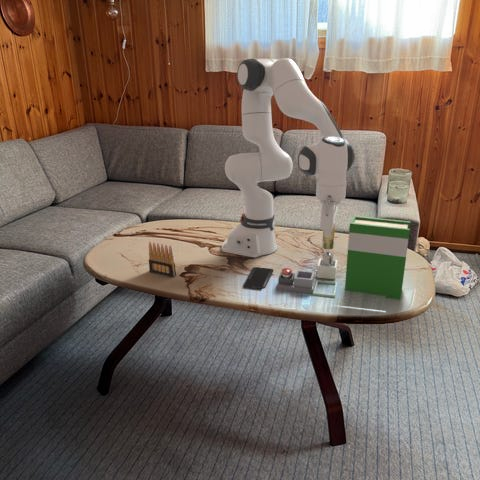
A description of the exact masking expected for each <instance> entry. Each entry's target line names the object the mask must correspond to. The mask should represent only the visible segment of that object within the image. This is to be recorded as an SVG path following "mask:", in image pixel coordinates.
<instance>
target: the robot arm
mask: <svg viewBox="0 0 480 480" xmlns="http://www.w3.org/2000/svg"><path fill="white" fill-rule="evenodd" d="M236 71H237V73H236V78H237V83H238V84H239V87H241V89H242V90H243V91H242V96H241V128H242V136H243V138H244V139H245V140H246V141H247V142H250V143H252V144H254V145H256V146H257V147H258V148H259V151H258V152H243V153H242V152H241V153H237V154H233V155H230V156H228V158H227V159H226V161H225V164H224V174H225V175H226V177H227V178H228V180H229V181H230V182H232V183H233V184H235V185H236V186H237V187H238V188H239V190H240V191H241V193H242V196H243V201H244V212H242V214H241V216H240V218H239V224H237V225H236V226H235V227H233V228H232V229H231V230H230V231H229V232H228V235H227V238H226V239H225V240H224V242H223V243H222V244H221V251H222V252H223V253H229V254H233V255H239V256H244V257H248V258H249V257H250V258H258V257H260V256H266V255H270V254H272V253H274V252H276V251H277V249H278V246H277V241H276V237H275V223H276V222H275V221H276V219H275V215H274V197H273V194H272V193H271V192H269V191H267V190H266V189H263V188H261V187H260V186H259V185H258V183H260V182H275V181H280V180H284V179H288V178H289V177H290V175H291V174H292V172H293V167H294V164H293V163H294V162H293V159H292V157H291V156H290V155H289V154H288V153H287V152H286V151H285V150H283V149H282V148H281V147H280V145H279V144H278V142H277V141H276V139H275V135H274V130H273V121H272V118H273V117H272V103H271V101H272V97H273V96H274V99H275V102H276V104H277V107H278V108H279V110H280V112H282V113H283V115H285V116H287V117H290V118H293V119H297V120H298V119H299V120H302V121H305V122H309V123H310V124H313V125H314V126H315V127H316V128H317V129H318V131H319V132H320V134H321V136H322V138H321V139H320V140H319V141H318V142H316V143H313V144H308V145H304V146H303V147H302V148H301V149H300V151H299V153H298V156H297V166H298V168H299V170H300V171H301V172H302V173H303V174H304V175H305V176H311V177H312V176H315V177H316V184H315V185H316V188H315V189H316V191H315V192H316V193H315V197H316V198H317V199H318V200H319V203H320V204H321V209H320V221H319V222H320V224H319V228H320V230H321V231H323V230H325V237H327V238H330V237H331V231H332V229H333V225H334V223H335V221H336V218H337V215H338V214H337V213H338V210H339V205H340V204H341V202H342V200H345V198H346V191H347V179H346V173H348V171H349V170H350V169H351V168H352V167H353V165H354V163H355V161H356V153H355V150H354V148H353V146H352V144H351V143H350V142H349V141H348V140H347V139H346V137H344V135H343V133H342V131H341V129H340V128H339V126H338V124H337V122H336V121H335V119H334V118H333V116H332V114H331V112H330V111H329V109H328V108H327V106H326V105H325V104H324V102H323V101H321V100H320V99H318V97H317V96H315V95H314V94H313V92H312V91H311V90H310V89H309V87H308V85H307V83H306V82H307V81H306V80H305V78H304V75H303V73H302V72H301V70H300V68H299V66H298V65H297V63H296V62H295V61H294V60H293V59H290V58H287V57H284V58H283V57H282V58H279V59H277V58H270V57H269V58H254V57H253V58H247V59H244V60H242V61H241V62H240V64H239V66H238V68H237V70H236Z"/></svg>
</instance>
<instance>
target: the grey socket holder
mask: <svg viewBox="0 0 480 480" xmlns="http://www.w3.org/2000/svg"><path fill="white" fill-rule="evenodd" d="M315 276H316V273H315V271H312V270H311V271H309V270H302V269H301V270H300V269H297V270H296V271H295V273H293V272H292V273H291V279H288V278H282V271H281V272H280V273H279V276H278V280H277V281H278V282H277V285H276V290H277V291H285V292H292V293H302V294H311V295H313V291H314V288H315V284H316V281H317V278H315Z"/></svg>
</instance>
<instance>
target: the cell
mask: <svg viewBox="0 0 480 480" xmlns="http://www.w3.org/2000/svg"><path fill="white" fill-rule="evenodd" d="M335 229H336V223H335V222H334V225H333V229H332V231H331V237H330V238H327V237H325V230H322V239H321V240H322V243H321V244H322V245H321V248H322V249H323V250H333V249H335V248H334V246H335V231H336V230H335Z"/></svg>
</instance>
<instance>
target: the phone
mask: <svg viewBox="0 0 480 480" xmlns="http://www.w3.org/2000/svg"><path fill="white" fill-rule="evenodd" d="M273 273H274V268H268V267H256V266H255V267H254V266H253V267H252V269H251V270H250V272H249V273H248V276H247V277H246V279H245V280H244V283H243V285H242V287H243V288H244V289H251V290H259V291H263V289H266V287H267V285H268V283H269V281H270V280H271V277H272V275H273Z"/></svg>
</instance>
